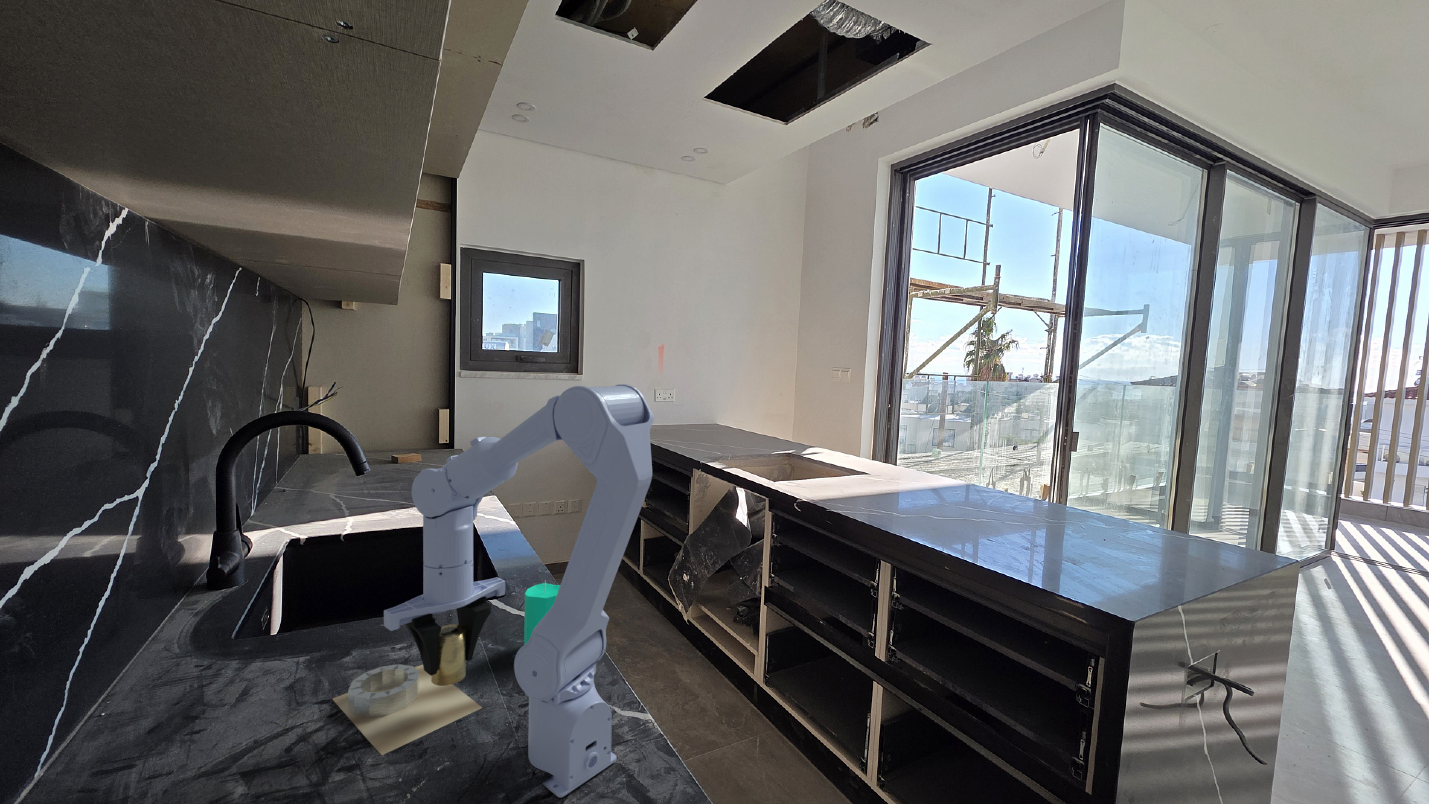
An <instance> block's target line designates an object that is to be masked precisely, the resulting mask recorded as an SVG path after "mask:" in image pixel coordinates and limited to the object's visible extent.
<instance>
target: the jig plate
mask: <svg viewBox="0 0 1429 804" xmlns="http://www.w3.org/2000/svg"><path fill="white" fill-rule="evenodd" d="M414 668H415V669H417V670H418V671H419V693H418V697H417V699H416V700H414V701H413V702H412V703H411V704H410V705H409V706H407V707H406V708H404V709H402V710H399V711H397V712H394V713H392V714H390V715H385V716H379V717H373V718H365V717H359V716H354V715H353V714H352V712H351V711H350V710H349V709H348V692H346V693H344V694H341V695H338V696H336V697H333V698H332V701H333V702H334V704H336V705H337V706H338V708H339V709H340V710H341V711H342V713H344V714H345V716H346V717H347V718H348V719H349V720H350V722H352V723H353V725H354V726H355V727H356V728H357V730H358V731H359V732H360V733H361V734H362V735H363V736H364V738H365V739H366V740H367V741H368V742H369V743H370V744H371V745H372V747H374V748H375V749H374V750H376V751H377V752H378V753H379V754H380V755H381V756H384V755H387V754H388V753H390V752H392V751H395V750H397V749H398V748H400V747H404V746H406V745H407V744H410V743H411V742H414V741H416V740H418V739H420V738H422V737H424V736H426V735H428V734H431V733H434V731H437V730H438V729H441V728H443V727H445V726H447V725H450V724H452V723H453V722H455V721H458V720H460V719H462V718H464V717H467V716H469V715H471V714H473V713H475V712H477V711H479V710H481V709H483V707H482V706H481V705H480V704H479V703H477V702H476V701H475V700H473V699H472V698H471V697H469V696H468V695H467V694H466V693H465V692H463V691H462V690H461V689H460V688H458V687H457V686H456V685H454V684H451V685H446V686H438V685H435V684H433V683H432V682H431V675H429V674H428V673H427V672H426V671H424V667H423V664H420V665H417V666H415V667H414ZM394 688H396V687H390V688H383V689H380V690H378V691H375V692H373V693H378V692H384V691H389V690H391V689H394Z"/></svg>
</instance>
